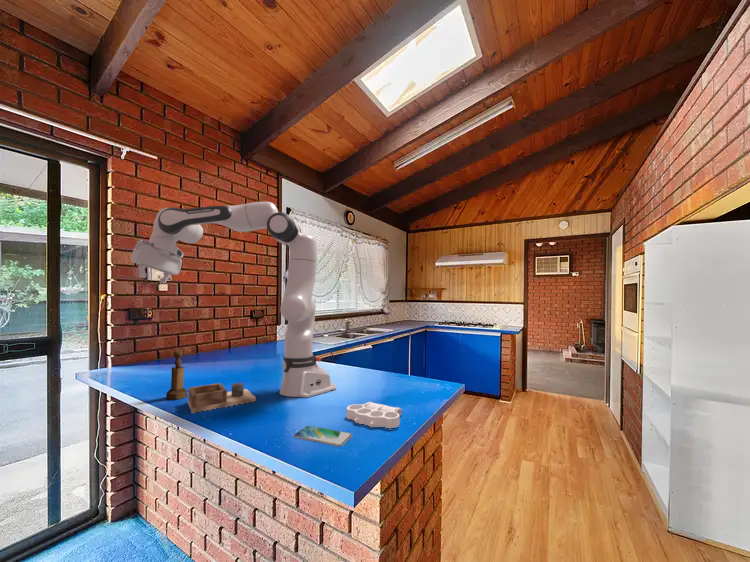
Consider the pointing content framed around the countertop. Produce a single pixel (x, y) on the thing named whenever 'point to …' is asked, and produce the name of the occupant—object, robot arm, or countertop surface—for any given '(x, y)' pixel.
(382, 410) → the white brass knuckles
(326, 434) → the smartphone
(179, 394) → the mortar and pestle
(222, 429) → the countertop surface
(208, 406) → the holder stand
